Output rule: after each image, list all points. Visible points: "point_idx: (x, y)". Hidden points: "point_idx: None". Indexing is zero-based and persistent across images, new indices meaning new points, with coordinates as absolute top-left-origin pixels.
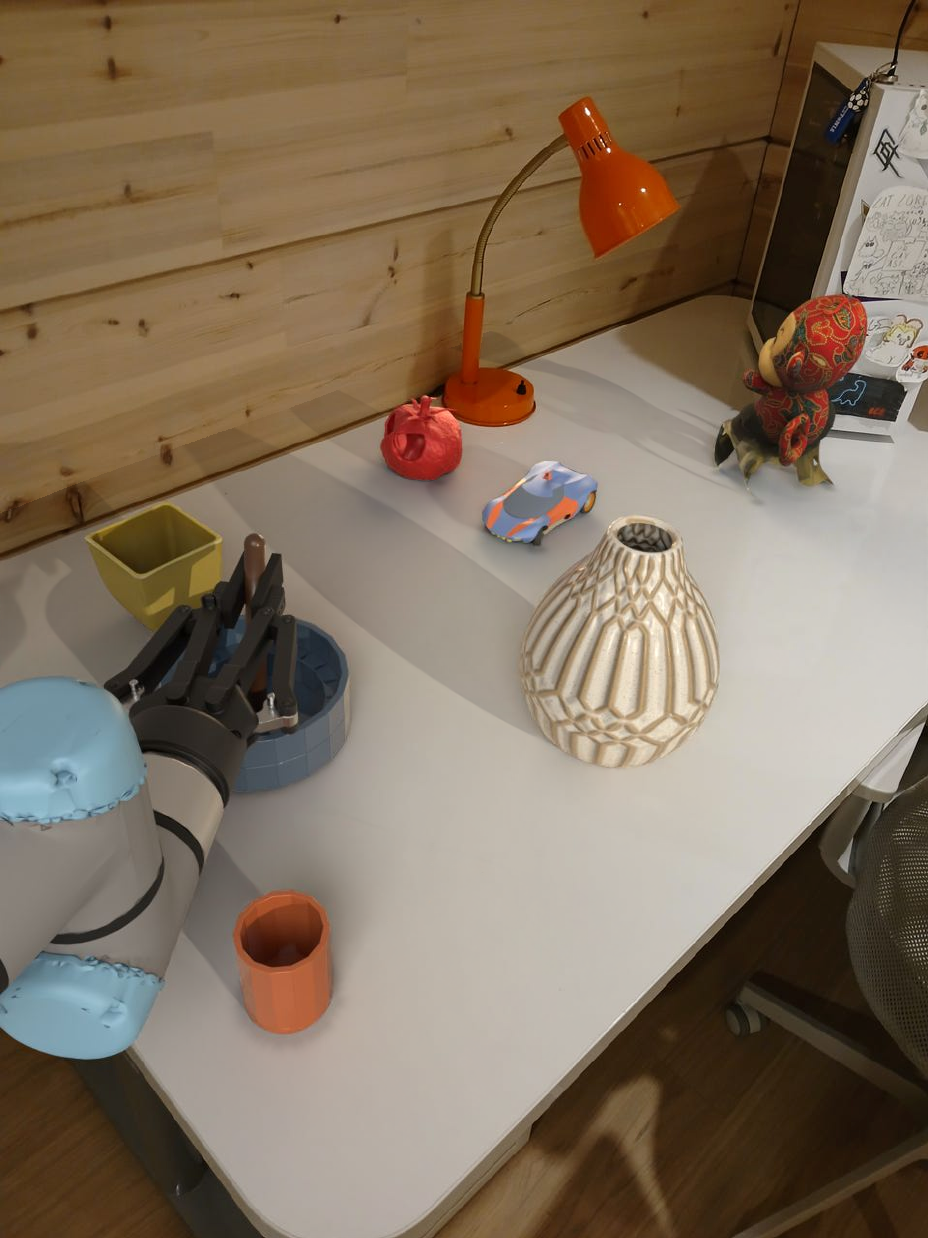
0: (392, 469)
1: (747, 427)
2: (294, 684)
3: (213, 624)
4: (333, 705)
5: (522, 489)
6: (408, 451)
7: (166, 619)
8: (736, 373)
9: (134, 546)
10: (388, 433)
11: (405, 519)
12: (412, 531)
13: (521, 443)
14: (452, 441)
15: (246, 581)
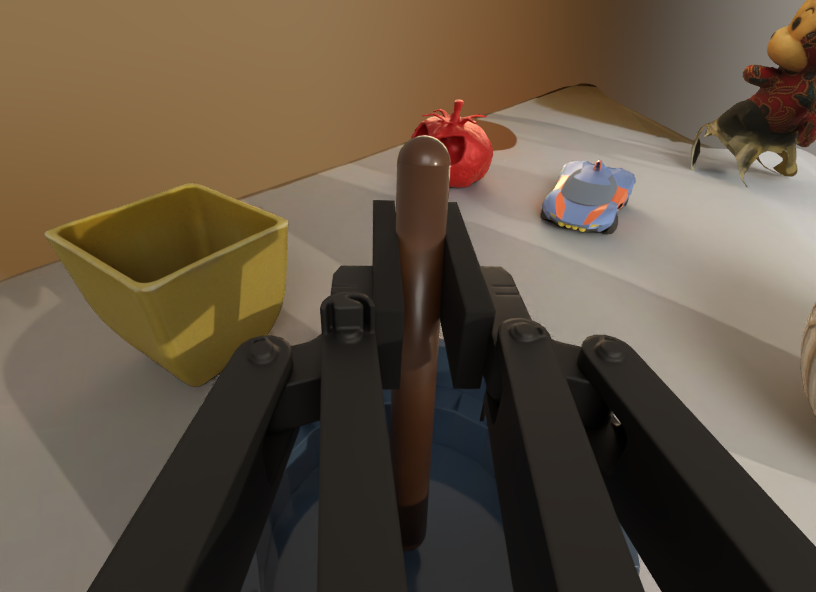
0: None
1: (746, 120)
2: (437, 450)
3: (382, 397)
4: None
5: (577, 180)
6: None
7: (205, 399)
8: (636, 119)
9: (144, 251)
10: None
11: None
12: (474, 229)
13: (521, 160)
14: (487, 144)
15: (405, 262)
